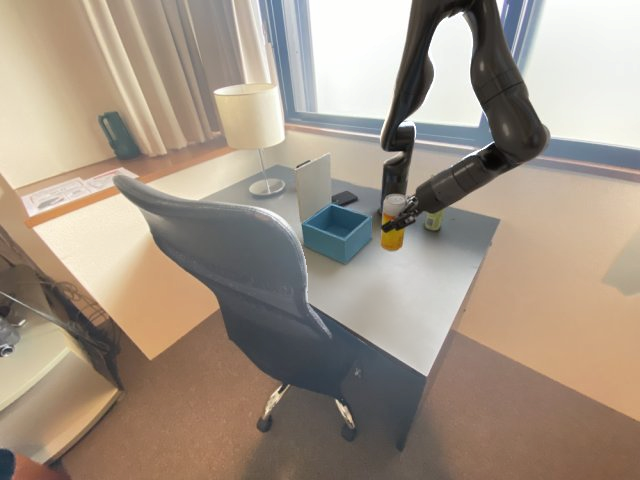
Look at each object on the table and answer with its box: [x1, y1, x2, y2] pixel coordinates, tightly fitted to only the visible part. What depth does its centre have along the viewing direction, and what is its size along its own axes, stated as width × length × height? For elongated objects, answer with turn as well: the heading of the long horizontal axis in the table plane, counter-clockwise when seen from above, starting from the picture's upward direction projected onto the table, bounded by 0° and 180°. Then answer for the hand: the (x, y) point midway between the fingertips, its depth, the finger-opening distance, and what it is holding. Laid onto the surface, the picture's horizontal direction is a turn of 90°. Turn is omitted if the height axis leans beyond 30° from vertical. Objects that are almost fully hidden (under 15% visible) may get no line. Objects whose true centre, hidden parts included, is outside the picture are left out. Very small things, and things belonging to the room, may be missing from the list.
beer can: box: [379, 194, 408, 252], centre depth 72 cm, size 6×6×15 cm
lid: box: [294, 152, 332, 224], centre depth 88 cm, size 18×16×5 cm
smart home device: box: [317, 190, 359, 213], centre depth 114 cm, size 8×2×20 cm
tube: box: [424, 173, 446, 231], centre depth 91 cm, size 6×5×20 cm
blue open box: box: [301, 204, 373, 265], centre depth 91 cm, size 17×16×9 cm
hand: (387, 223), depth 73 cm, fingers closed on beer can, 6 cm apart
